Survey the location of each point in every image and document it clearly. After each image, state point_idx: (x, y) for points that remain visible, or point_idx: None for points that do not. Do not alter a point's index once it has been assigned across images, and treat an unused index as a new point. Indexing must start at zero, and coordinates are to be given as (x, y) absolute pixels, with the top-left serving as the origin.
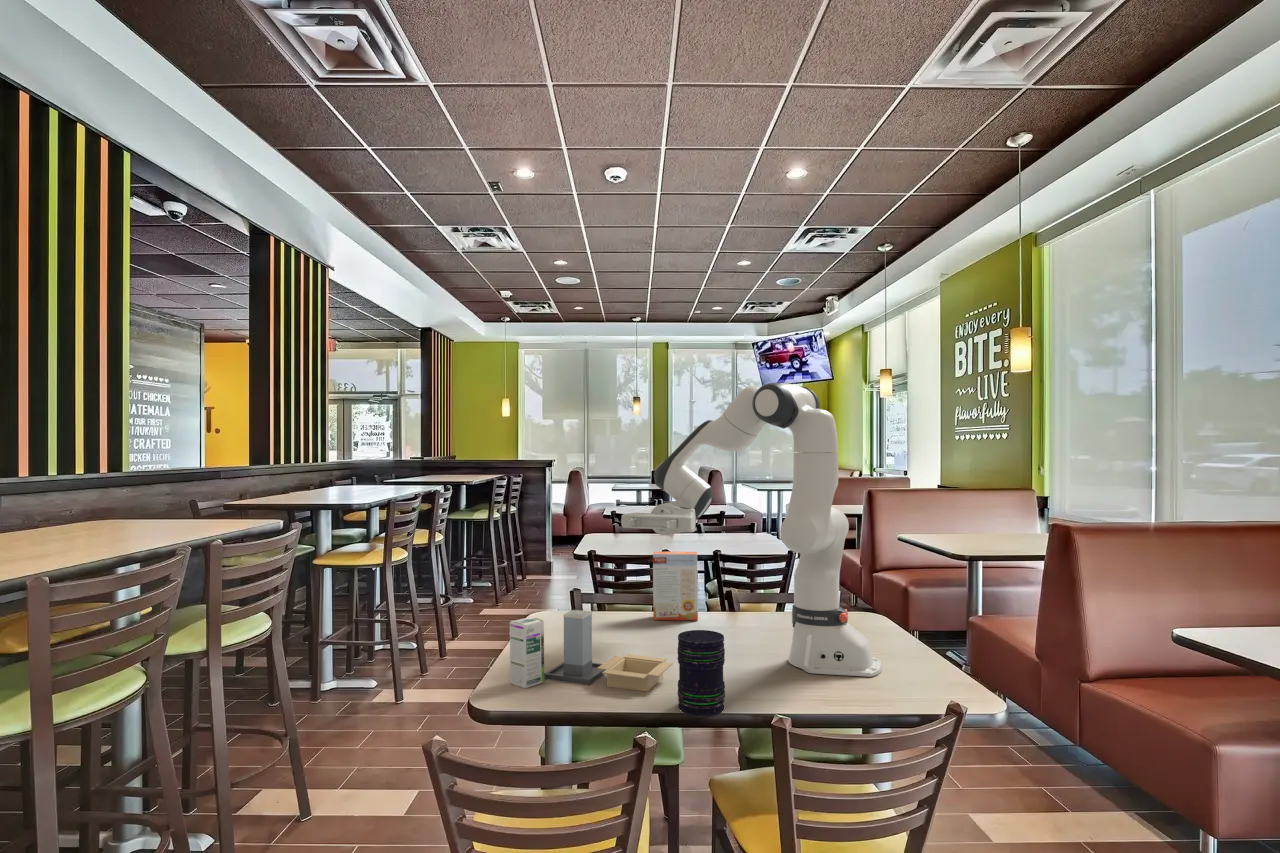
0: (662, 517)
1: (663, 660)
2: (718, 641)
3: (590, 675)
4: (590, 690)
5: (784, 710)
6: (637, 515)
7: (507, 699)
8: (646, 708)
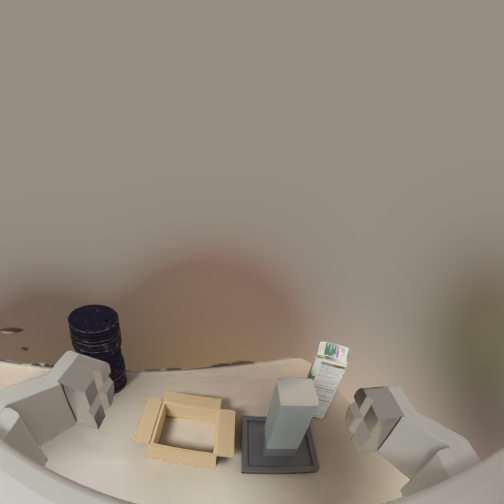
0: (100, 492)
1: (149, 448)
2: (78, 308)
3: (253, 437)
4: (232, 408)
5: (33, 370)
6: (466, 472)
7: (297, 374)
8: (157, 377)
